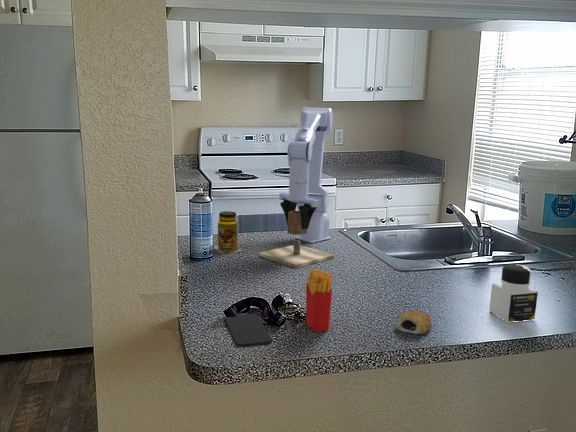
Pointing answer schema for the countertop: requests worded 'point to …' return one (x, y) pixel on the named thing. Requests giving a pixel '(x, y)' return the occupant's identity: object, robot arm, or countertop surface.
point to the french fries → (318, 300)
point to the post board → (296, 255)
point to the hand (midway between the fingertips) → (297, 226)
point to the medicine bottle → (514, 294)
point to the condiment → (227, 232)
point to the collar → (295, 223)
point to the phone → (248, 330)
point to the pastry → (413, 322)
